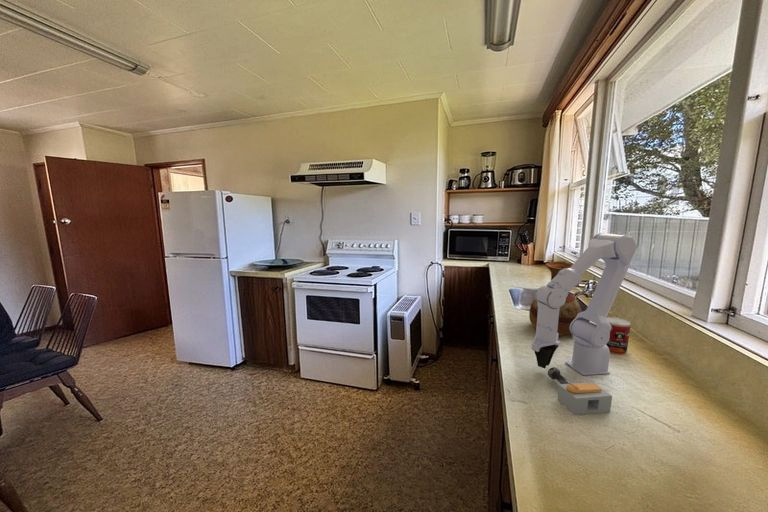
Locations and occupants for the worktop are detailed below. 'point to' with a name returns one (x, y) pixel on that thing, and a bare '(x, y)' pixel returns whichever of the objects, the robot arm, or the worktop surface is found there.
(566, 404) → the block
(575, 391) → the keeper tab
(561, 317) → the brown clay vase
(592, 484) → the worktop surface
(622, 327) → the canned food
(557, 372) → the pin
